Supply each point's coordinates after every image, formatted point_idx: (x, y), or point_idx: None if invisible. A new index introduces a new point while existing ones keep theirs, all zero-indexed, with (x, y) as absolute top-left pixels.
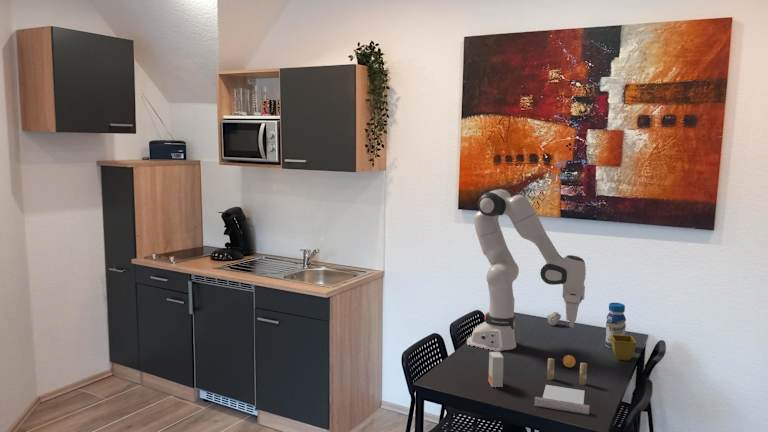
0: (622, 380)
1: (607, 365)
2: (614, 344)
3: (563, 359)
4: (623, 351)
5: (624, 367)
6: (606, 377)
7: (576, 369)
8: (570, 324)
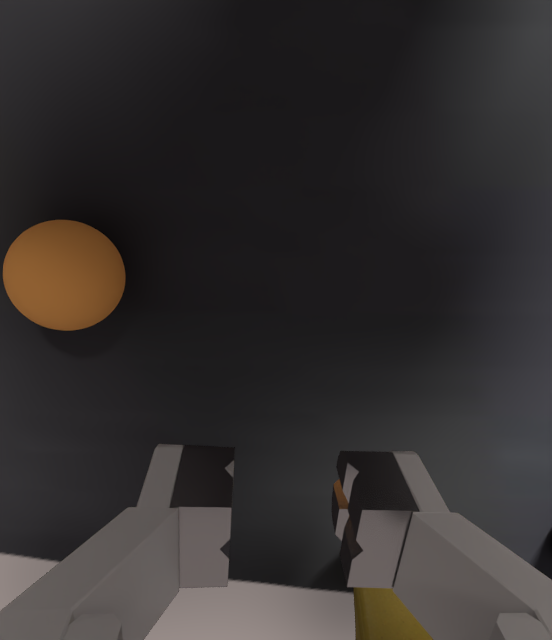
0: (16, 552)
1: (240, 493)
2: (375, 628)
3: (33, 228)
4: (355, 624)
5: (241, 565)
6: (15, 484)
7: None
8: (146, 498)
